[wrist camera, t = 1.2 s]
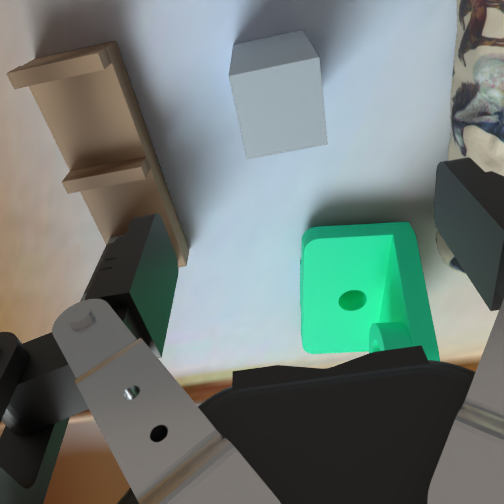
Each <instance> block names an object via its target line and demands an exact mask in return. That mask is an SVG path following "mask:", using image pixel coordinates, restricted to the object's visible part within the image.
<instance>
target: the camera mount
mask: <svg viewBox="0 0 504 504" xmlns="http://www.w3.org/2000/svg"><path fill="white" fill-rule="evenodd" d="M300 306H301V337H302V344H303V349H304V350H305V351H306V352H308V353H311V354H321V353H343V352H365V351H369V353H372V352H377V351H384V350H391V349H399V348H406V347H413V346H420V345H422V347H423V350H424V352H425V354H426V357H427V359H428V360H434V361H440V358H439V351H438V346H437V341H436V336H435V331H434V325H433V320H432V315H431V310H430V305H429V300H428V295H427V290H426V285H425V280H424V275H423V270H422V265H421V260H420V255H419V250H418V245H417V240H416V234H415V232H414V230H413V229H412V227H411V225H410V223H409V222H393V223H375V224H357V225H339V226H321V227H313V228H310V229H308V230H307V231H306V232H305V233H304V234H303V236H302V260H300Z"/></svg>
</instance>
